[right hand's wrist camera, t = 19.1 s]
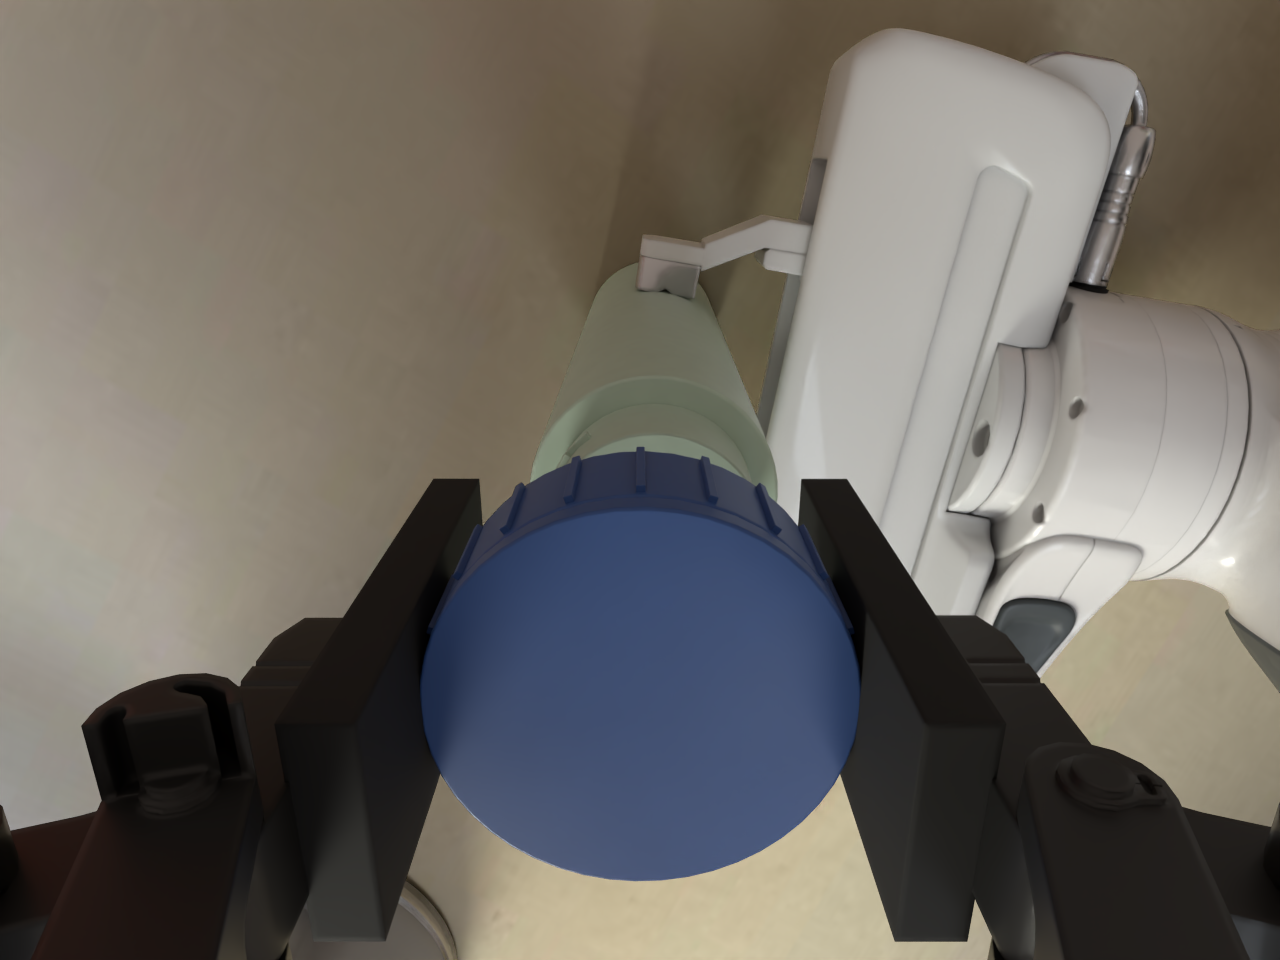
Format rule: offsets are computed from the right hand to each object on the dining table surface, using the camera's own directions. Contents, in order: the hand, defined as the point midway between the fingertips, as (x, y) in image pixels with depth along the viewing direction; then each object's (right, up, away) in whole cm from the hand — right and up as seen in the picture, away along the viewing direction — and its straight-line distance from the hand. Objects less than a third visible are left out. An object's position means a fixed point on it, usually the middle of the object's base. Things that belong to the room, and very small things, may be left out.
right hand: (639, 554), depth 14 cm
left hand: (0, +5, +12) cm, 13 cm away
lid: (0, -1, -4) cm, 4 cm away
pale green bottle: (0, +7, +18) cm, 20 cm away
